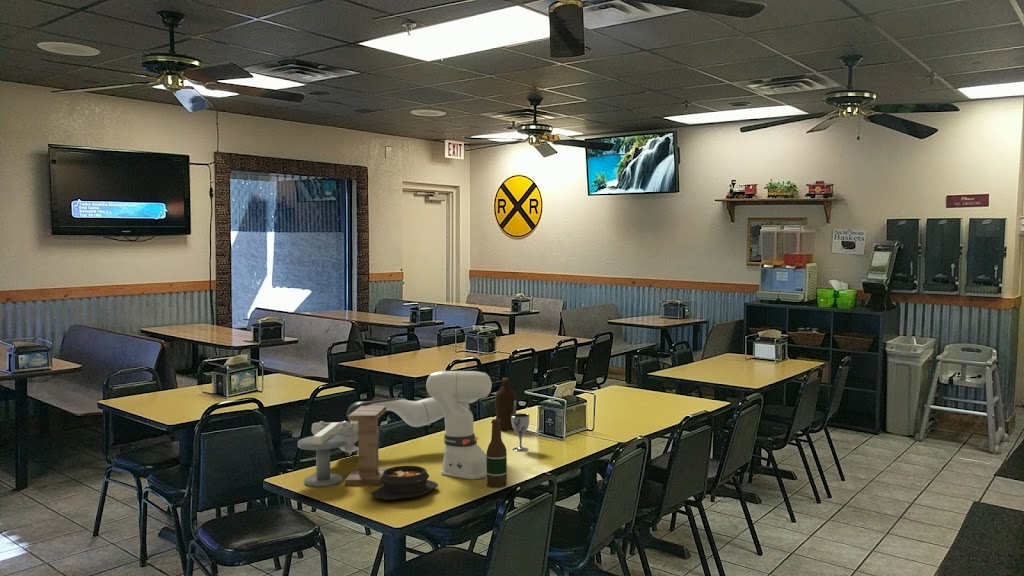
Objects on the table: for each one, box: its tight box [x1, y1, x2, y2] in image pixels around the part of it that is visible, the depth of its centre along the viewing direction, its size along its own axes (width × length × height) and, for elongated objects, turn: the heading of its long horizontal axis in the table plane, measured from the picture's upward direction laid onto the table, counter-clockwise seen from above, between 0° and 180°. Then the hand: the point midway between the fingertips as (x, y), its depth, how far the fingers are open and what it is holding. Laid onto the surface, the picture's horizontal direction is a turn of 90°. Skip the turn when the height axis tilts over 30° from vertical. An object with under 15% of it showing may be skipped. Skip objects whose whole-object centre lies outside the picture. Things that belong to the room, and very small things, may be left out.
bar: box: [312, 421, 341, 444], centre depth 282 cm, size 24×3×3 cm, turn 177°
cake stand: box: [297, 435, 347, 488], centre depth 277 cm, size 18×18×16 cm
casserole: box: [370, 465, 439, 501], centre depth 260 cm, size 25×19×8 cm
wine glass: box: [511, 412, 530, 453], centre depth 321 cm, size 8×8×15 cm
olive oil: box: [494, 377, 518, 431], centre depth 361 cm, size 11×11×25 cm
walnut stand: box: [344, 406, 390, 486], centre depth 279 cm, size 18×14×26 cm
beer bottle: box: [486, 418, 508, 489], centre depth 270 cm, size 8×8×24 cm
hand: (332, 423), depth 291 cm, fingers open, 8 cm apart
